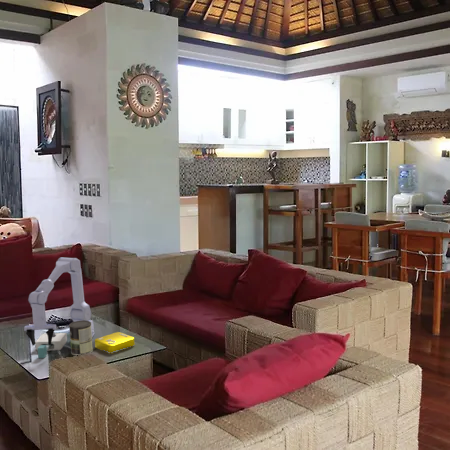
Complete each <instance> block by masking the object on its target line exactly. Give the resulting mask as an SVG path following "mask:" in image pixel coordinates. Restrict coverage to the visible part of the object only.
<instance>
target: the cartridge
mask: <svg viewBox="0 0 450 450" xmlns="http://www.w3.org/2000/svg"><path fill="white" fill-rule="evenodd" d="M51 346H52V344H50V345H49V344H47V345H40V346H39V347H38V351H37V355H38V357H37V358H38V359H45V358H46V357H47V355H48V352H49V350H48V349H49V348H50V347H51Z"/></svg>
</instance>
